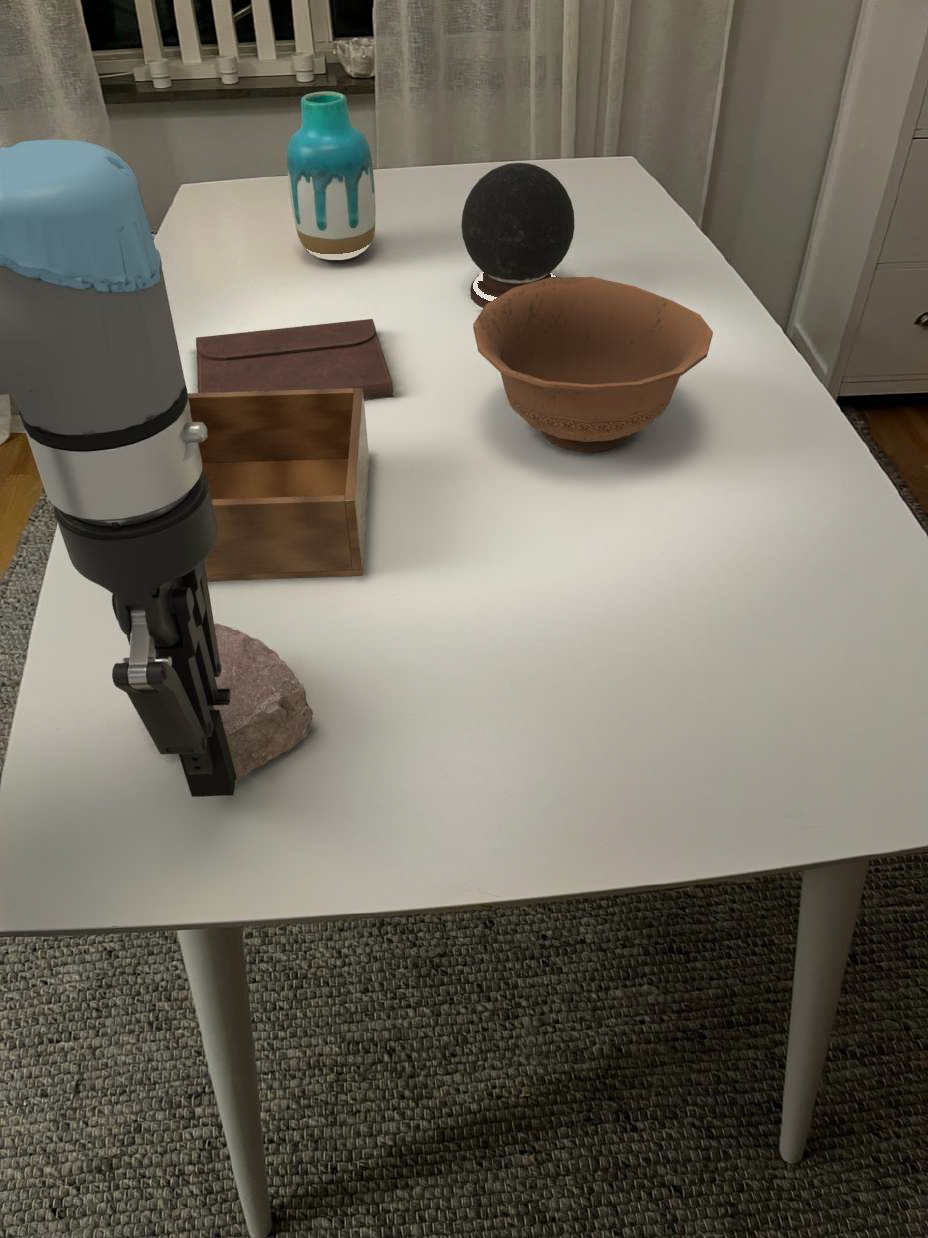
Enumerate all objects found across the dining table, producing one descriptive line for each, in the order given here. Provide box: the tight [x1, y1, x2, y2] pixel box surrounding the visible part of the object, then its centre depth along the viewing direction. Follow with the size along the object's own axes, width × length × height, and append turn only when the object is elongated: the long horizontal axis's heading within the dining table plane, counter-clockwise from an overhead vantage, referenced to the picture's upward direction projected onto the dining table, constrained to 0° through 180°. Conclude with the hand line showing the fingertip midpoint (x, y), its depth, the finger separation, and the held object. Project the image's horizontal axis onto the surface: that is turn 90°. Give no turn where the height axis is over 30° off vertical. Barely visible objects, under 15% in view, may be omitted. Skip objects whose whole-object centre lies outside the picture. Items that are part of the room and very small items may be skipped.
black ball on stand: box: [460, 162, 576, 309], centre depth 119 cm, size 13×13×15 cm
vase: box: [286, 91, 377, 254], centre depth 127 cm, size 11×11×19 cm
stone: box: [214, 623, 314, 780], centre depth 71 cm, size 12×9×5 cm
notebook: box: [195, 318, 394, 400], centre depth 109 cm, size 15×20×2 cm
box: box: [188, 388, 370, 582], centre depth 88 cm, size 18×18×8 cm
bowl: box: [472, 276, 714, 453], centre depth 97 cm, size 22×22×11 cm
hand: (214, 787), depth 66 cm, fingers closed
